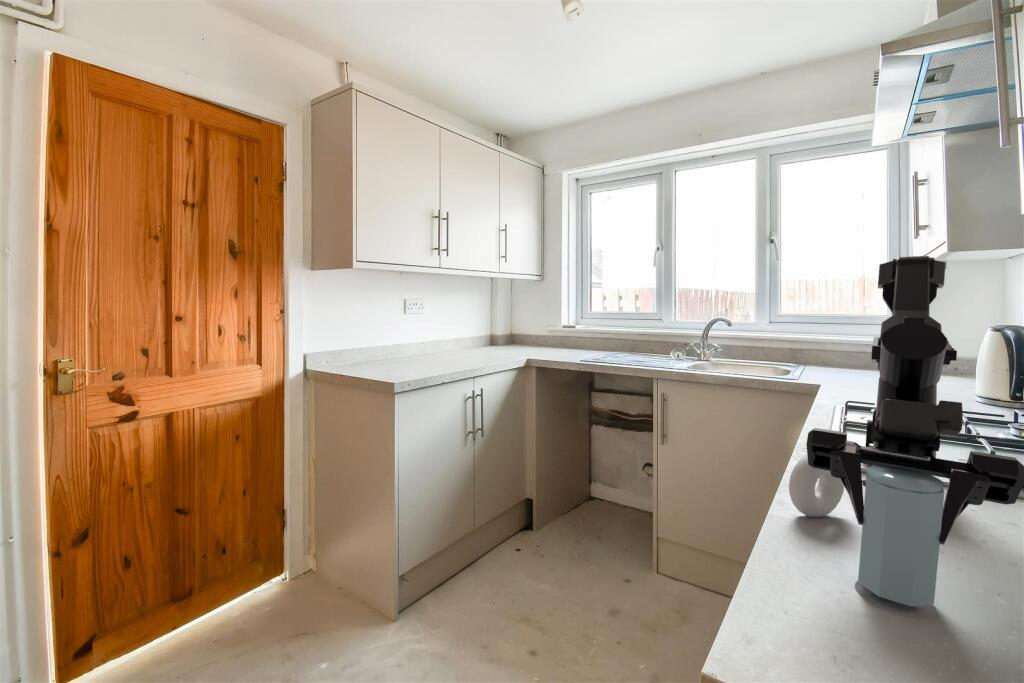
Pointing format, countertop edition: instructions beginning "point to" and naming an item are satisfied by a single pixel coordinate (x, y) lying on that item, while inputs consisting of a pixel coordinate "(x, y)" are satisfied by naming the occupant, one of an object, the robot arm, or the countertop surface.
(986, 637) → the countertop surface
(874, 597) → the slate coaster
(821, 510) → the donut
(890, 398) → the robot arm
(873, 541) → the dome-topped hexagonal post
